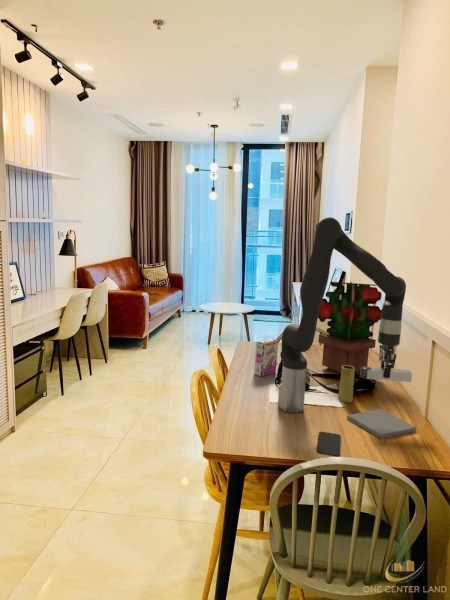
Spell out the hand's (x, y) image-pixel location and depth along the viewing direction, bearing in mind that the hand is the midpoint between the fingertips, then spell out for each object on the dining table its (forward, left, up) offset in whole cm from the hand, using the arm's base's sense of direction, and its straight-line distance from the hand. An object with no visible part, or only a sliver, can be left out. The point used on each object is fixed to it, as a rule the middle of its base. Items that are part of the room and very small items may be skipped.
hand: (384, 375), depth 165 cm
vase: (0, +20, -17) cm, 26 cm away
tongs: (0, 0, -1) cm, 1 cm away
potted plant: (+26, +51, -17) cm, 60 cm away
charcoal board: (-4, -4, -17) cm, 18 cm away
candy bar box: (-15, +60, -17) cm, 64 cm away
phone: (-32, -9, -18) cm, 37 cm away
